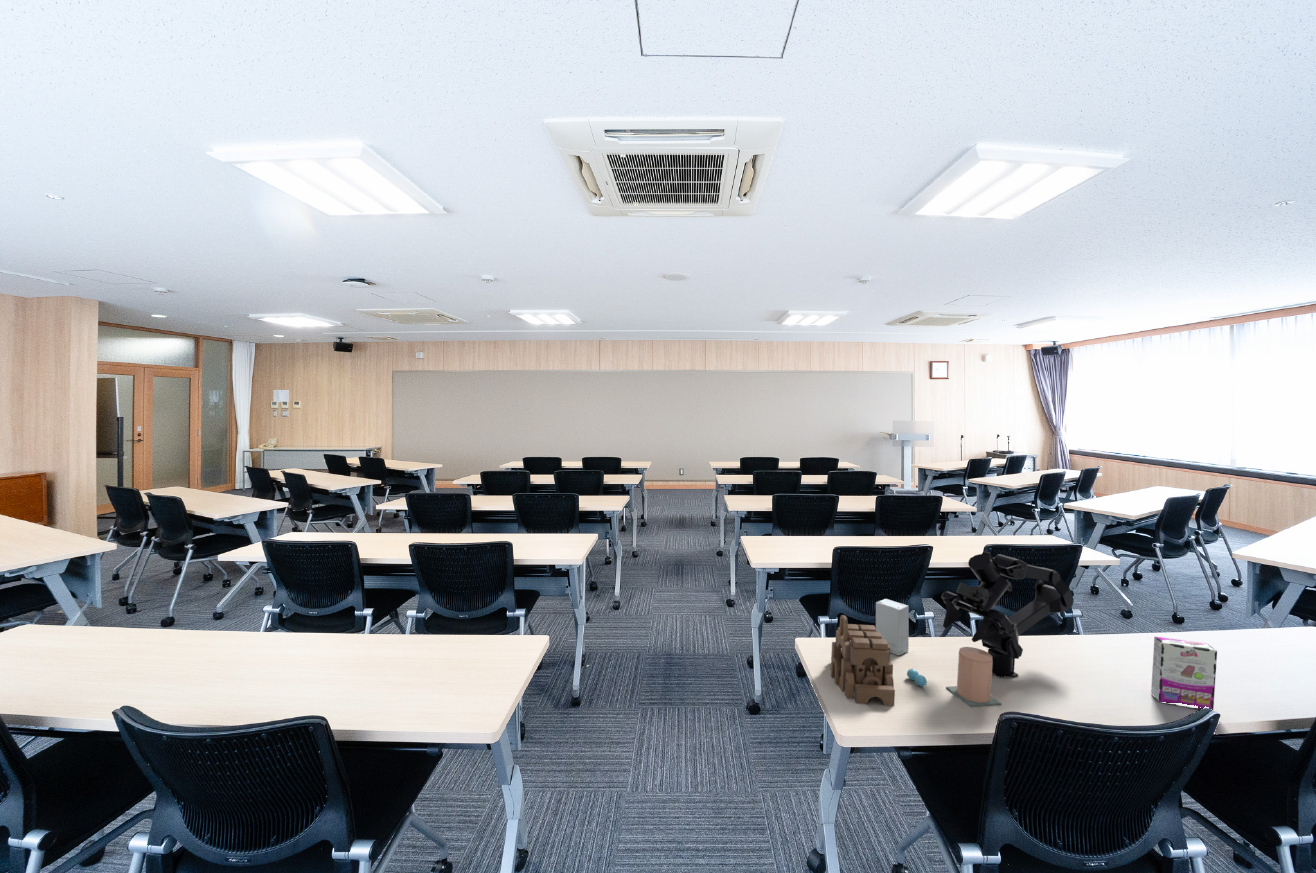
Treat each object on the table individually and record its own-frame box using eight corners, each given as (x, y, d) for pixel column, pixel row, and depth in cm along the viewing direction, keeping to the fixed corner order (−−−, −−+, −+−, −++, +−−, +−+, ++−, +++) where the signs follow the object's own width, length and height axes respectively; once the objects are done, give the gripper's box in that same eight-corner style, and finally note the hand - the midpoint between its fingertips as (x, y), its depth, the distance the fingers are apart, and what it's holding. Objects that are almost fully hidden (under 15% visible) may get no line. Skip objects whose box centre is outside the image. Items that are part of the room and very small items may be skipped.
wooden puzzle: (902, 706, 134) (906, 636, 133) (844, 703, 135) (848, 633, 134) (873, 664, 156) (876, 603, 155) (823, 662, 157) (826, 601, 156)
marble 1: (914, 676, 150) (914, 666, 149) (920, 682, 147) (921, 671, 146) (904, 677, 149) (905, 666, 149) (911, 682, 146) (911, 672, 146)
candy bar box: (1202, 702, 139) (1207, 642, 138) (1213, 712, 135) (1219, 650, 134) (1148, 693, 144) (1153, 635, 143) (1158, 702, 139) (1163, 642, 138)
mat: (975, 686, 145) (975, 684, 145) (1001, 704, 136) (1001, 703, 136) (946, 688, 144) (946, 686, 144) (970, 706, 135) (970, 705, 135)
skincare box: (908, 652, 165) (911, 605, 164) (897, 656, 162) (900, 609, 161) (884, 641, 172) (886, 597, 171) (873, 645, 168) (875, 600, 168)
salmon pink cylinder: (965, 684, 145) (967, 644, 145) (995, 696, 139) (997, 655, 138) (951, 692, 141) (953, 651, 140) (981, 705, 135) (984, 662, 134)
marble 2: (921, 682, 146) (922, 672, 146) (928, 688, 143) (929, 677, 143) (911, 683, 146) (912, 672, 146) (918, 689, 143) (919, 678, 143)
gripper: (947, 564, 156) (916, 603, 153) (1007, 584, 139) (974, 630, 136) (965, 587, 159) (935, 627, 156) (1026, 610, 142) (994, 655, 139)
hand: (958, 633), depth 147 cm, fingers open, 9 cm apart
